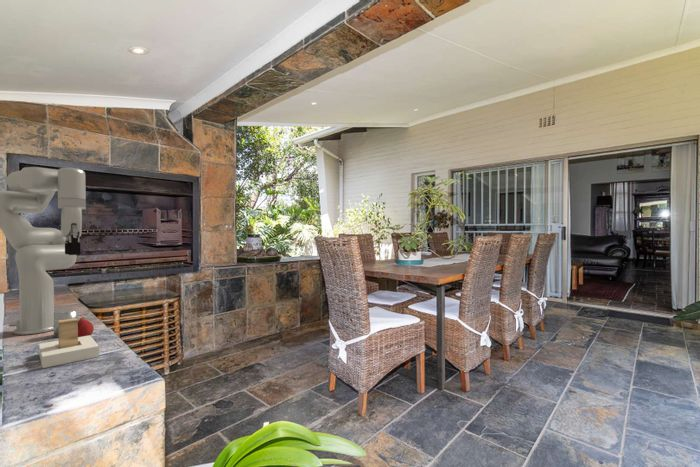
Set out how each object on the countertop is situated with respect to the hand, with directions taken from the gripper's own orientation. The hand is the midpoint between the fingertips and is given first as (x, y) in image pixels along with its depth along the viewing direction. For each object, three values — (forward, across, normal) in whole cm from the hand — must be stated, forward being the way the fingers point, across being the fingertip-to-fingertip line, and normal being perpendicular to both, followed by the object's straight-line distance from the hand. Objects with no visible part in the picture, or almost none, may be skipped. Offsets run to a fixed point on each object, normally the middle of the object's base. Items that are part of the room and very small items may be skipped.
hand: (72, 254), depth 120 cm
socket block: (+28, +24, -3) cm, 37 cm away
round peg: (+28, -6, -1) cm, 29 cm away
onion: (+28, +9, +2) cm, 30 cm away
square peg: (+28, +23, -3) cm, 37 cm away
